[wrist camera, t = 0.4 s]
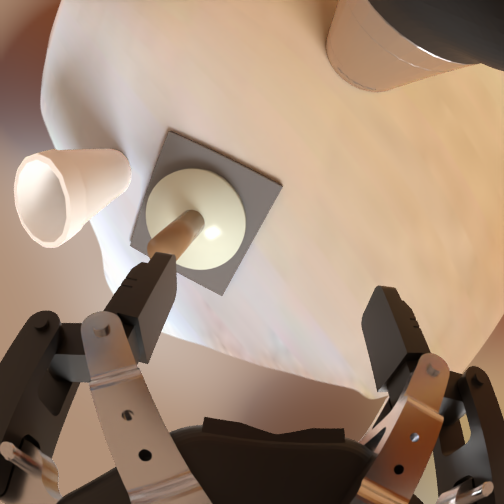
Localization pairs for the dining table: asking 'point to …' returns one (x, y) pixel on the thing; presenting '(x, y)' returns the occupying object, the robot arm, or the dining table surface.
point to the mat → (239, 176)
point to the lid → (195, 218)
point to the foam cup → (67, 190)
